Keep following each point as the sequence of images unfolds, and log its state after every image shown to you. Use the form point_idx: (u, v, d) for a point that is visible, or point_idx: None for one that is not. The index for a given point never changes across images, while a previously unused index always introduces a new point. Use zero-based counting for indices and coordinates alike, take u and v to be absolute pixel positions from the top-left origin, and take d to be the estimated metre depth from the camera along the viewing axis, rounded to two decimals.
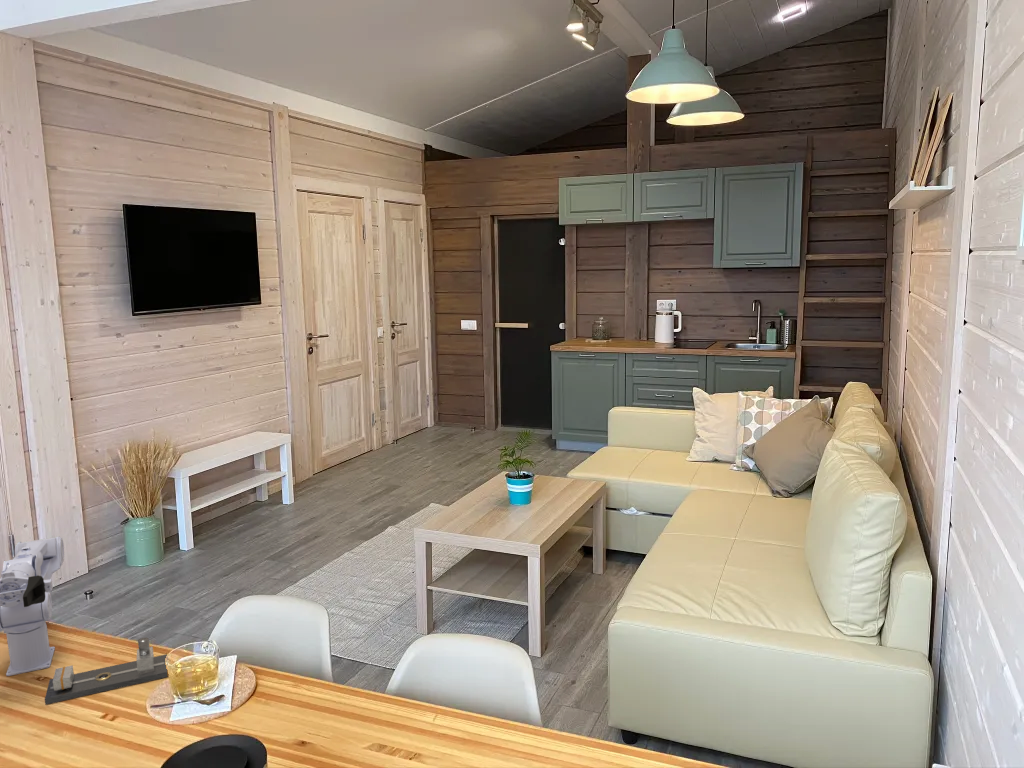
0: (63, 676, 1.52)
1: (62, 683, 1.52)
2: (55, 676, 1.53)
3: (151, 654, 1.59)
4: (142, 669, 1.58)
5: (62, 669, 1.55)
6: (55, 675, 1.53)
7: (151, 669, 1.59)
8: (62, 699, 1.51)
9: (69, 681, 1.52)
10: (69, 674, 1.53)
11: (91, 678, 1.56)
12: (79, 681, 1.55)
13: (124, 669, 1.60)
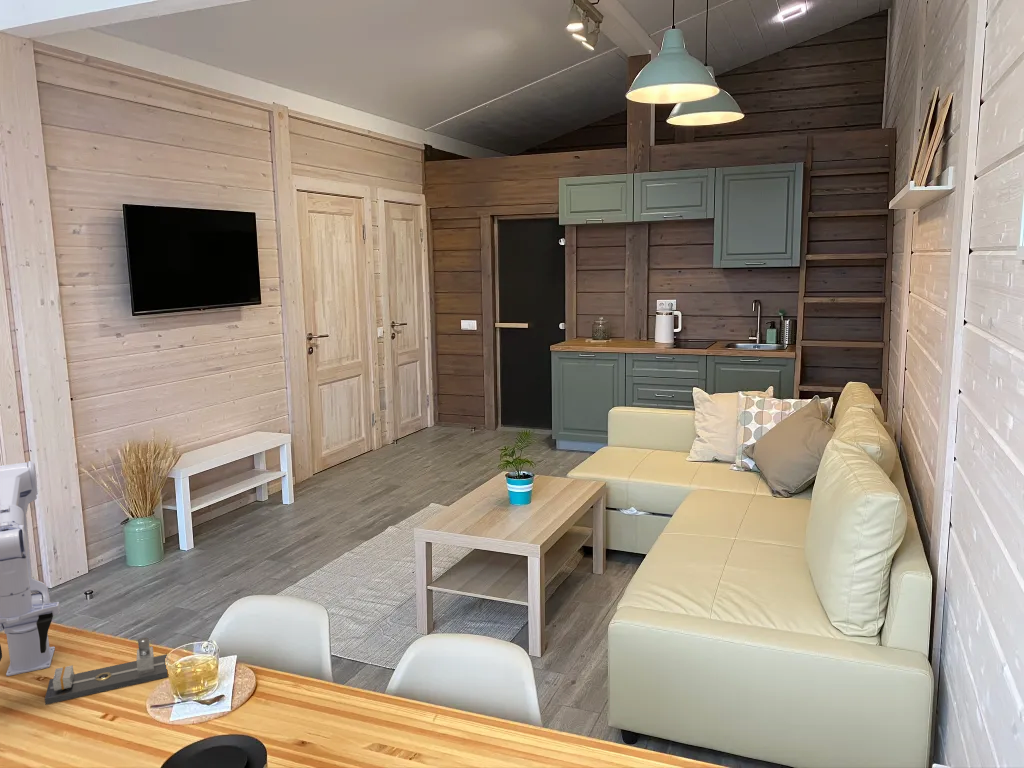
0: (63, 676, 1.52)
1: (62, 683, 1.52)
2: (55, 676, 1.53)
3: (151, 654, 1.59)
4: (142, 669, 1.58)
5: (62, 669, 1.55)
6: (55, 675, 1.53)
7: (151, 669, 1.59)
8: (62, 699, 1.51)
9: (69, 681, 1.52)
10: (69, 674, 1.53)
11: (91, 678, 1.56)
12: (79, 681, 1.55)
13: (124, 669, 1.60)
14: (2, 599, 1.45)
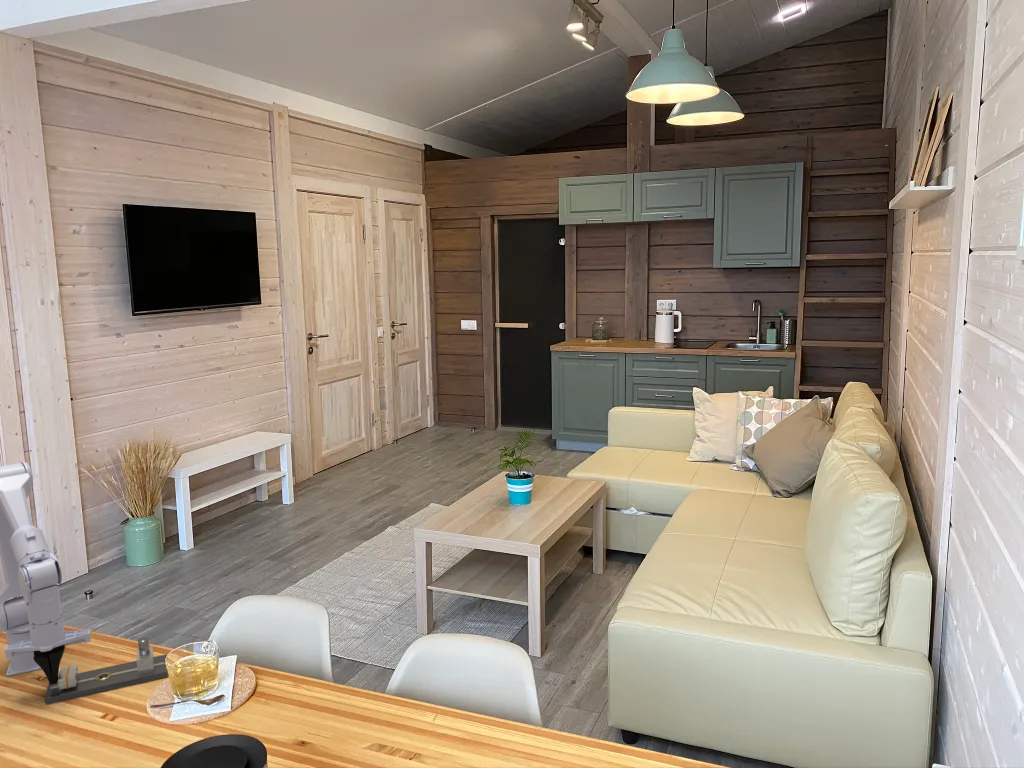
0: (68, 675, 1.53)
1: (67, 682, 1.52)
2: (60, 675, 1.53)
3: (151, 654, 1.59)
4: (142, 669, 1.58)
5: (67, 668, 1.55)
6: (60, 674, 1.53)
7: (151, 669, 1.59)
8: (62, 699, 1.51)
9: (74, 680, 1.53)
10: (74, 673, 1.54)
11: (91, 678, 1.56)
12: (79, 681, 1.55)
13: (124, 669, 1.60)
14: (36, 628, 1.49)
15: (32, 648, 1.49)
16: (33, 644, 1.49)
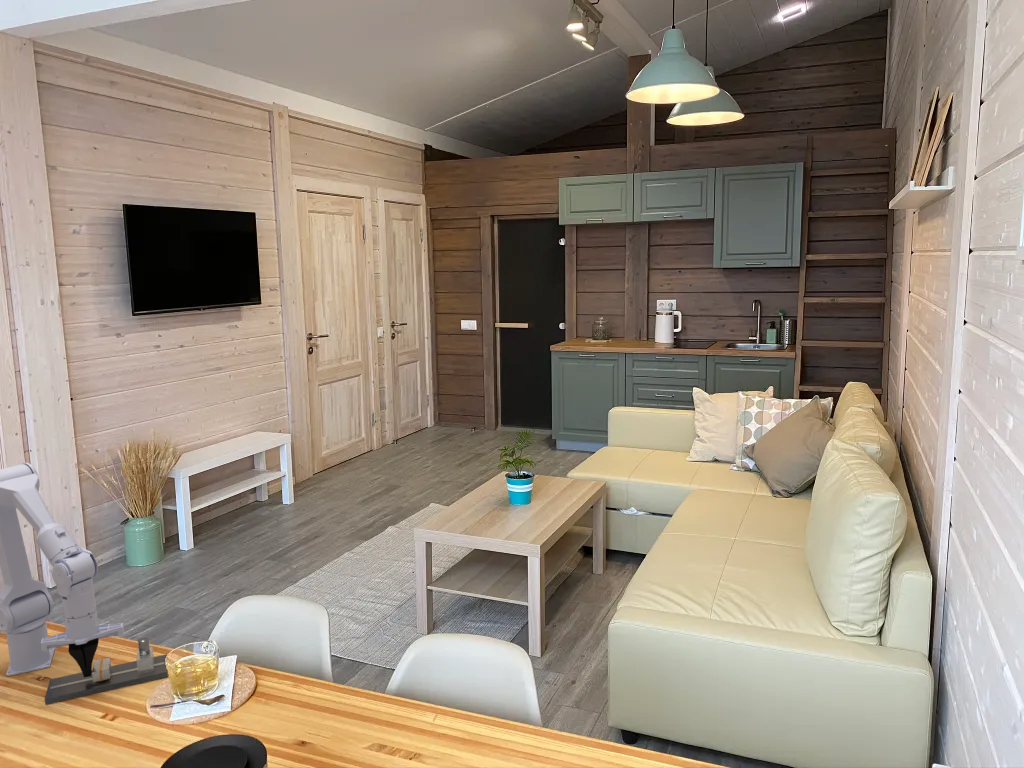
0: (102, 668, 1.55)
1: (101, 675, 1.55)
2: (94, 668, 1.55)
3: (151, 654, 1.59)
4: (142, 669, 1.58)
5: (100, 661, 1.58)
6: (94, 667, 1.56)
7: (151, 669, 1.59)
8: (62, 699, 1.51)
9: (108, 673, 1.55)
10: (107, 666, 1.56)
11: (91, 678, 1.56)
12: (79, 681, 1.55)
13: (124, 669, 1.60)
14: (71, 621, 1.51)
15: (67, 641, 1.51)
16: (68, 637, 1.52)
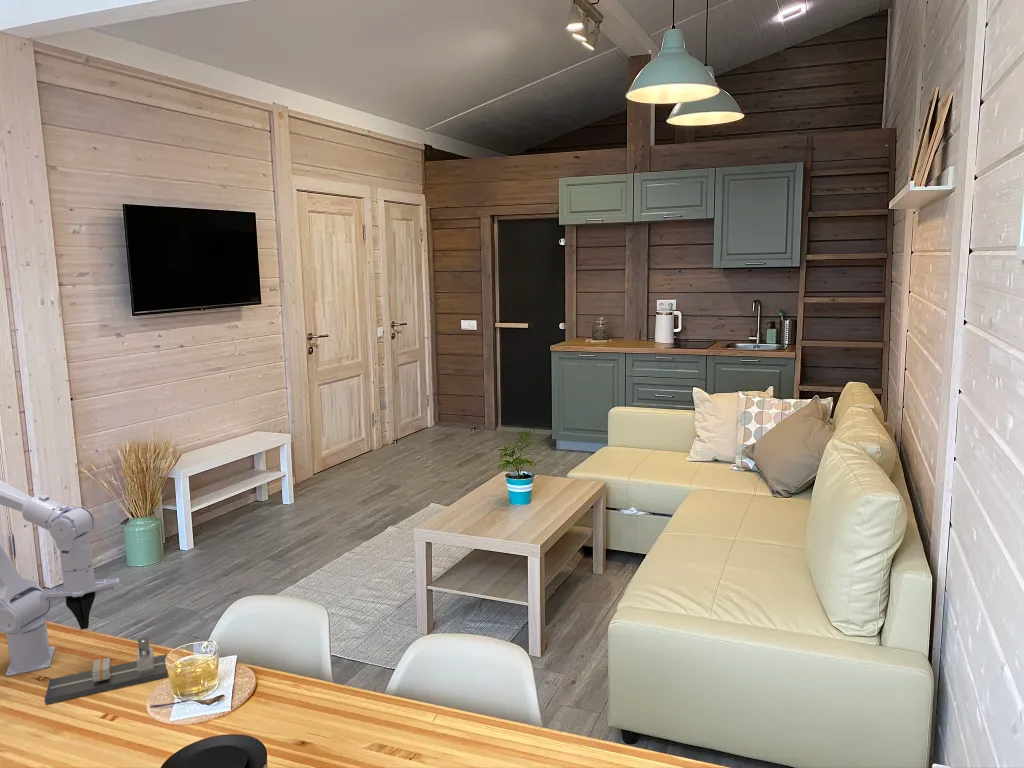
0: (102, 668, 1.55)
1: (101, 675, 1.55)
2: (94, 668, 1.55)
3: (151, 654, 1.59)
4: (142, 669, 1.58)
5: (100, 661, 1.58)
6: (94, 667, 1.56)
7: (151, 669, 1.59)
8: (62, 699, 1.51)
9: (108, 673, 1.55)
10: (107, 666, 1.56)
11: (91, 678, 1.56)
12: (79, 681, 1.55)
13: (124, 669, 1.60)
14: (68, 574, 1.57)
15: (65, 593, 1.57)
16: (66, 590, 1.58)
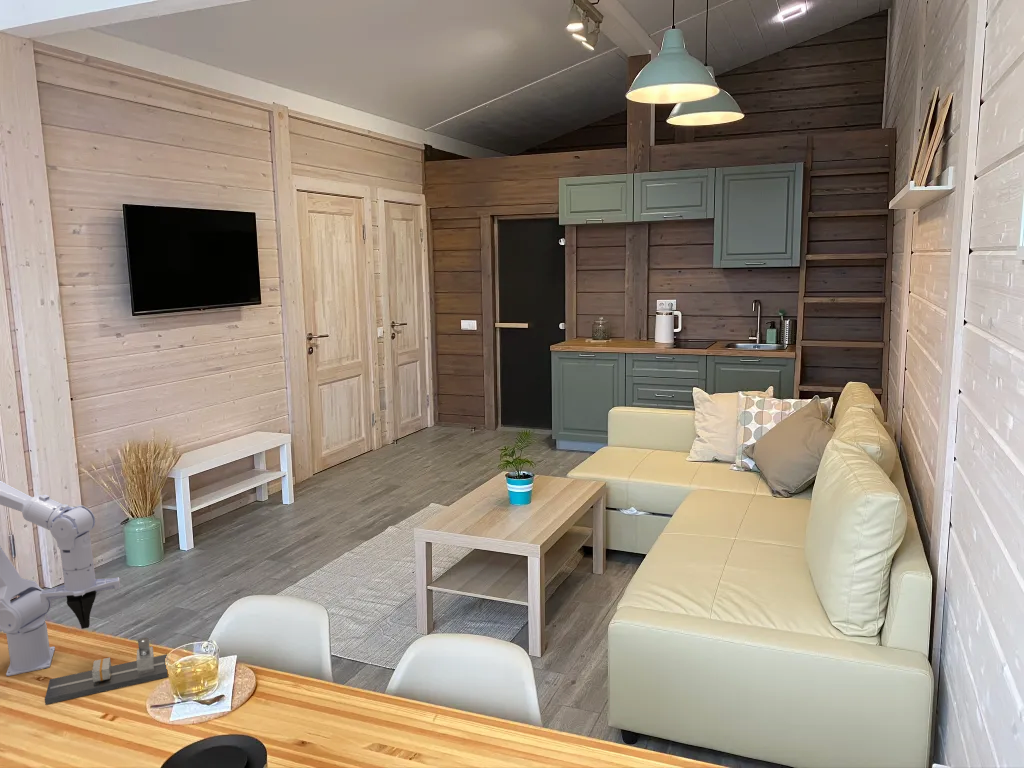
0: (102, 668, 1.55)
1: (101, 675, 1.55)
2: (94, 668, 1.55)
3: (151, 654, 1.59)
4: (142, 669, 1.58)
5: (100, 661, 1.58)
6: (94, 667, 1.56)
7: (151, 669, 1.59)
8: (62, 699, 1.51)
9: (108, 673, 1.55)
10: (107, 666, 1.56)
11: (91, 678, 1.56)
12: (79, 681, 1.55)
13: (124, 669, 1.60)
14: (69, 573, 1.57)
15: (66, 593, 1.57)
16: (66, 589, 1.58)
